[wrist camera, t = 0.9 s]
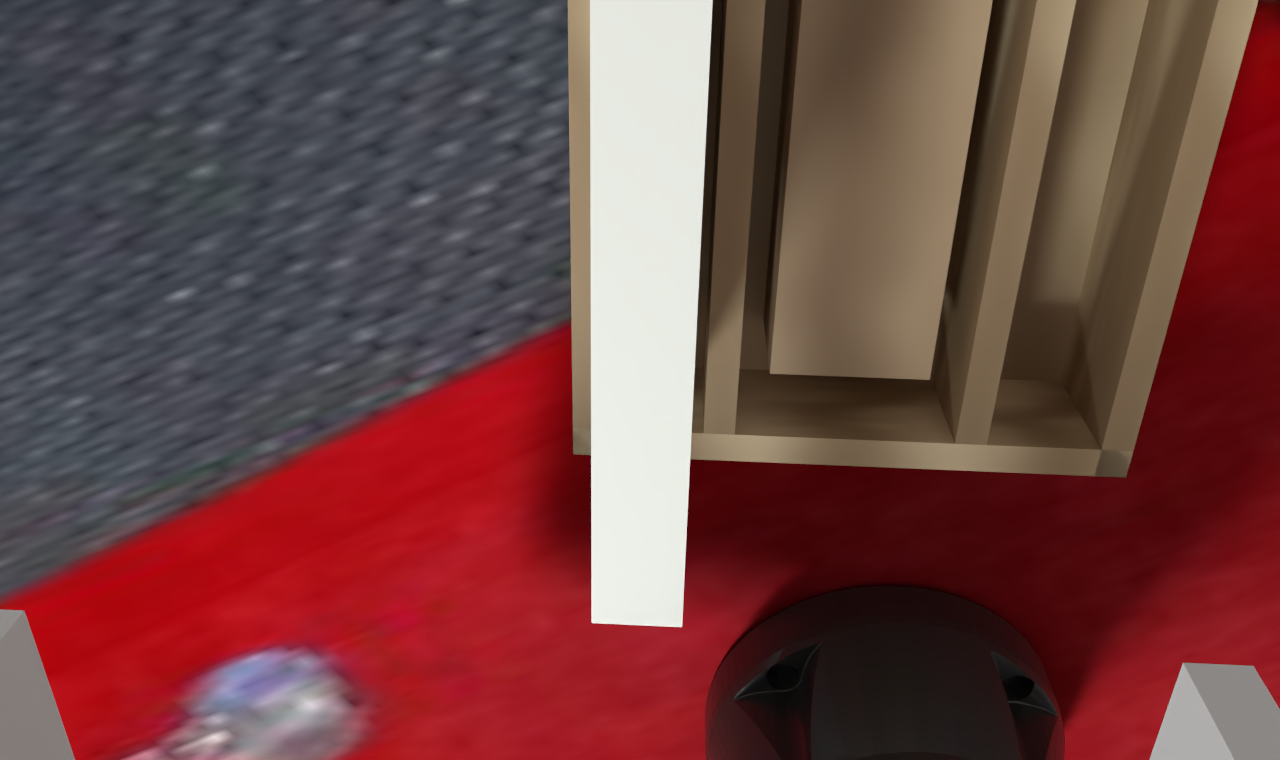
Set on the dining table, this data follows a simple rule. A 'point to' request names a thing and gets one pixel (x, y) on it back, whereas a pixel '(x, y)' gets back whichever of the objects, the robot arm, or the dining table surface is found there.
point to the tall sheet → (644, 296)
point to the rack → (963, 243)
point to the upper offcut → (871, 182)
